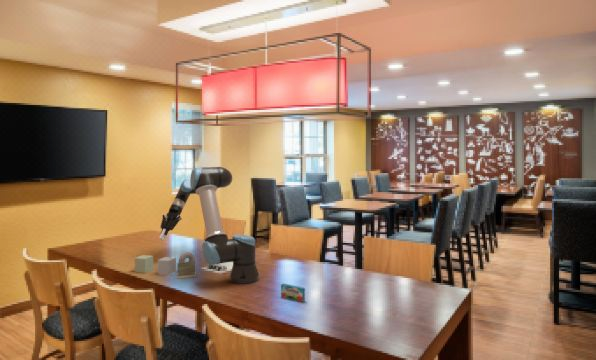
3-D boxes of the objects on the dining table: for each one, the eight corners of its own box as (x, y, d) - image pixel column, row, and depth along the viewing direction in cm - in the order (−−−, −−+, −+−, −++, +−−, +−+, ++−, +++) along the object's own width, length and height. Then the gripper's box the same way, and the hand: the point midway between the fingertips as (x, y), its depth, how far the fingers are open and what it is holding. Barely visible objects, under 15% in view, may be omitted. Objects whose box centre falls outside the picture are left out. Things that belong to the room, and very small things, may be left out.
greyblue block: (176, 271, 229) (176, 257, 229) (168, 275, 223) (168, 261, 222) (165, 270, 231) (165, 256, 231) (157, 274, 225) (157, 260, 224)
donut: (180, 271, 229) (180, 254, 229) (177, 270, 232) (177, 253, 231) (196, 268, 236) (196, 251, 236) (193, 267, 239) (193, 250, 238)
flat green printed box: (304, 301, 183) (304, 287, 183) (302, 302, 182) (302, 288, 181) (282, 296, 190) (282, 283, 189) (281, 297, 188) (280, 284, 188)
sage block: (153, 269, 234) (153, 256, 233) (145, 273, 227) (145, 259, 227) (143, 268, 236) (142, 255, 235) (135, 272, 229) (134, 258, 229)
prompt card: (196, 276, 220) (196, 262, 219) (177, 278, 216) (176, 264, 216) (195, 274, 223) (195, 260, 223) (176, 276, 220) (176, 262, 220)
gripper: (188, 211, 259) (173, 243, 245) (170, 210, 263) (154, 241, 249) (183, 204, 254) (167, 236, 239) (165, 203, 258) (148, 234, 243)
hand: (161, 239), depth 244 cm, fingers closed
